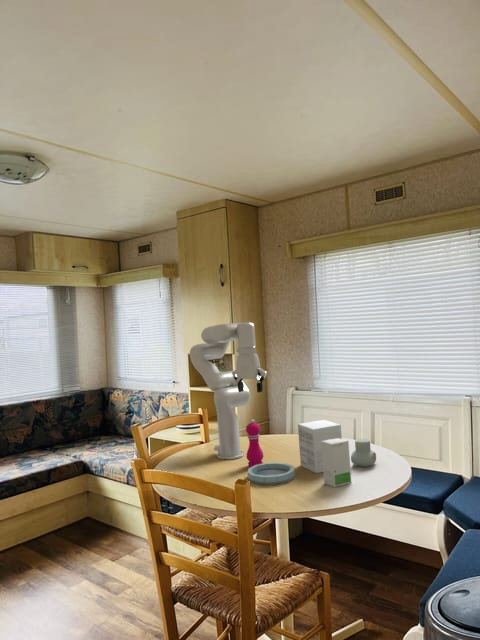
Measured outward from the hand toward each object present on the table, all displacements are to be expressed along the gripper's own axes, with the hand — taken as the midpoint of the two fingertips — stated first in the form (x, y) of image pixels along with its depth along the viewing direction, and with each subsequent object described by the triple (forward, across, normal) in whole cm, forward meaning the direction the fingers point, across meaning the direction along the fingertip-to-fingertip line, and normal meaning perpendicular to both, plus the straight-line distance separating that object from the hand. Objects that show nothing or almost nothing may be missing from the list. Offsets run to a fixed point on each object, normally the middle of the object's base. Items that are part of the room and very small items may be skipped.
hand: (250, 391), depth 204 cm
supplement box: (+32, +26, +10) cm, 42 cm away
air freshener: (+32, +41, +18) cm, 55 cm away
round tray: (+32, +14, -10) cm, 36 cm away
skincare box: (+32, +40, -6) cm, 51 cm away
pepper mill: (+32, 0, 0) cm, 32 cm away
